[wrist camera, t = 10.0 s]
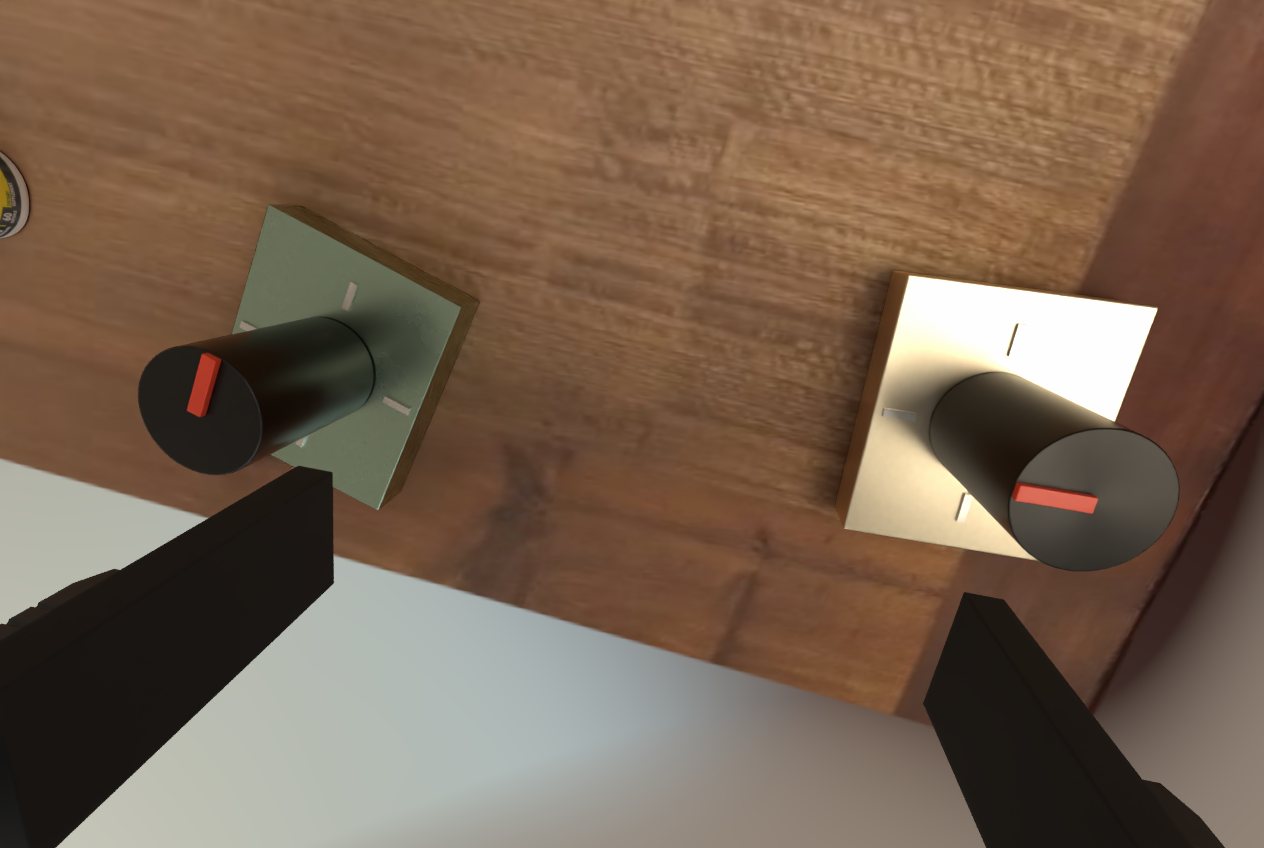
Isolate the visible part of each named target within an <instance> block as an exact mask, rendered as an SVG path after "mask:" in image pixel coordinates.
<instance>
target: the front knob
mask: <svg viewBox="0 0 1264 848" xmlns="http://www.w3.org/2000/svg"><path fill="white" fill-rule="evenodd" d="M930 441H931V446H932V449H933V451H934V454H935V455H936V457H937V459H938V460H939V461H940V462H941V464H942V465H943V466H944V467H945V468H946V469H947V470H948V471H949V472H950V473H951V474H952V475H953V476H954V477H955V478H956V479H957V480H958V481H959V483H960V484H961V485H962V486H963V487H964V488H965V489H966V490H967V491H968V492H969V493H970V494H971V495H972V496H973V497H974V498H975V499H976V500H977V501H978V502H979V503H980V504H981V505H982V506H983V507H984V509H985V510H986V511H987V512H988V513H989V514H990V515H991V516H992V517H993V518H994V519H995V520H996V521H997V522H998V523H999V524H1000V525H1001V526H1002V527H1003V528H1004V529H1005V530H1006V531H1007V532H1008V534H1009V535H1010V536H1011V537H1012V538H1013V539H1014V540H1015V541H1016V542H1017V543H1018V544H1019V545H1020V546H1021V547H1022V548H1023V549H1024V550H1025V551H1026V552H1027V553H1028V554H1029V555H1031V556H1032V557H1034V558H1035V559H1037V560H1038V561H1040V562H1042V563H1044V564H1047V565H1049V566H1052V567H1055V568H1059V569H1063V570H1070V571H1095V570H1101V569H1106V568H1110V567H1113V566H1116V565H1119V564H1122V563H1124V562H1126V561H1129V560H1131V559H1132V558H1134V557H1136V556H1138V555H1139V554H1141V553H1142V552H1144V551H1145V550H1147V549H1148V548H1149V547H1150V546H1151V545H1153V544H1154V543H1155V542H1156V541H1157V540H1158V539H1159V538H1160V536H1161V535H1162V534H1163V533H1164V532H1165V530H1166V529H1167V527H1168V526H1169V524H1170V522H1171V521H1172V519H1173V517H1174V514H1175V512H1176V509H1177V506H1178V501H1179V490H1180V487H1179V478H1178V475H1177V472H1176V469H1175V467H1174V465H1173V463H1172V461H1171V459H1170V458H1169V456H1168V455H1167V453H1166V452H1165V451H1164V450H1163V449H1162V448H1161V447H1160V446H1159V445H1157V444H1156V443H1155V442H1153V441H1152V440H1150V439H1149V438H1147V437H1145V436H1143V435H1141V434H1139V433H1137V432H1135V431H1133V430H1131V429H1129V428H1126V427H1124V426H1122V425H1120V424H1118V423H1116V422H1114V421H1112V420H1110V419H1108V418H1106V417H1104V416H1102V415H1100V414H1098V413H1095V412H1093V411H1091V410H1089V409H1087V408H1085V407H1083V406H1081V405H1079V404H1077V403H1075V402H1073V401H1071V400H1069V399H1066V398H1064V397H1062V396H1060V395H1058V394H1056V393H1054V392H1052V391H1050V390H1048V389H1046V388H1044V387H1042V386H1040V385H1038V384H1035V383H1033V382H1031V381H1029V380H1027V379H1025V378H1023V377H1020V376H1018V375H1014V374H1010V373H1001V372H996V373H986V374H981V375H978V376H974V377H972V378H969V379H967V380H965V381H963V382H961V383H960V384H958V385H957V386H955V387H954V388H953V389H952V390H950V391H949V392H948V393H947V394H946V395H945V396H944V398H943V399H942V400H941V401H940V403H939V404H938V406H937V408H936V410H935V412H934V414H933V417H932V420H931V424H930Z"/></svg>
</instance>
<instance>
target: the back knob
mask: <svg viewBox="0 0 1264 848" xmlns="http://www.w3.org/2000/svg"><path fill="white" fill-rule="evenodd" d="M372 385H373V366H372V362H371V359H370V356H369V353H368V351H367V349H366V347H365V346H364V344H363V343H362V341H361V340H360V339H359V338H358V336H357V335H356V334H355V333H354V332H352V331H351V330H350V329H349V328H347V327H346V326H344V325H343V324H341V323H339V322H337V321H334V320H331V319H328V318H323V317H311V318H305V319H300V320H296V321H291V322H287V323H282V324H277V325H273V326H268V327H264V328H259V329H255V330H250V331H245V332H241V333H236V334H232V335H227V336H222V337H218V338H213V339H209V340H204V341H199V342H195V343H190V344H186V345H181V346H177V347H173V348H169V349H167V350H164V351H162V352H161V353H159V354H158V355H156V356H155V357H154V358H153V359H152V360H151V361H150V362H149V363H148V364H147V366H146V367H145V369H144V371H143V373H142V375H141V378H140V381H139V387H138V402H139V408H140V413H141V416H142V419H143V422H144V424H145V426H146V428H147V430H148V432H149V433H150V435H151V437H152V438H153V440H154V441H155V442H156V444H157V445H158V446H159V447H160V448H161V449H162V450H163V451H164V452H165V453H166V454H167V455H168V456H169V457H170V458H172V459H173V460H174V461H176V462H177V463H179V464H180V465H182V466H184V467H186V468H188V469H190V470H192V471H196V472H199V473H203V474H208V475H225V474H230V473H233V472H236V471H239V470H241V469H243V468H245V467H247V466H249V465H251V464H252V463H254V462H256V461H258V460H260V459H262V458H264V457H266V456H268V455H270V454H272V453H274V452H276V451H278V450H280V449H282V448H284V447H286V446H288V445H290V444H292V443H294V442H296V441H298V440H300V439H302V438H304V437H306V436H308V435H310V434H312V433H314V432H316V431H318V430H320V429H322V428H324V427H326V426H328V425H330V424H332V423H333V422H335V421H337V420H339V419H341V418H343V417H345V416H347V415H349V414H351V413H353V412H355V411H356V410H358V409H359V408H360V407H361V406H362V405H363V404H364V403H365V402H366V400H367V398H368V397H369V394H370V392H371V389H372Z"/></svg>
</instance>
